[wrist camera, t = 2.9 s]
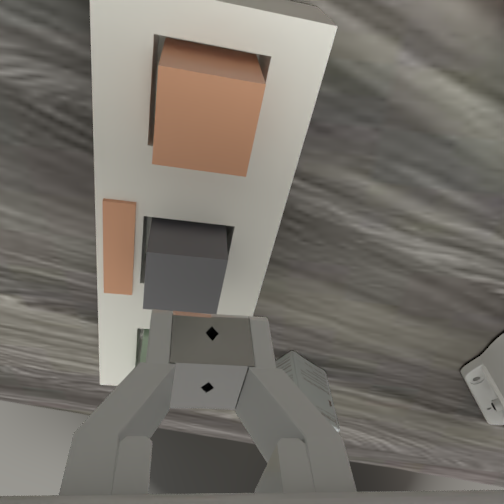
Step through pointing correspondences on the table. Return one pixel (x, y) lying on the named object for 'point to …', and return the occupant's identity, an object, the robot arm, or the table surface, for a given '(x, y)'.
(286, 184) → the button panel
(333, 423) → the product box
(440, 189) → the table surface
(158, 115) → the terracotta button
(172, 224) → the charcoal button
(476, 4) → the table surface
